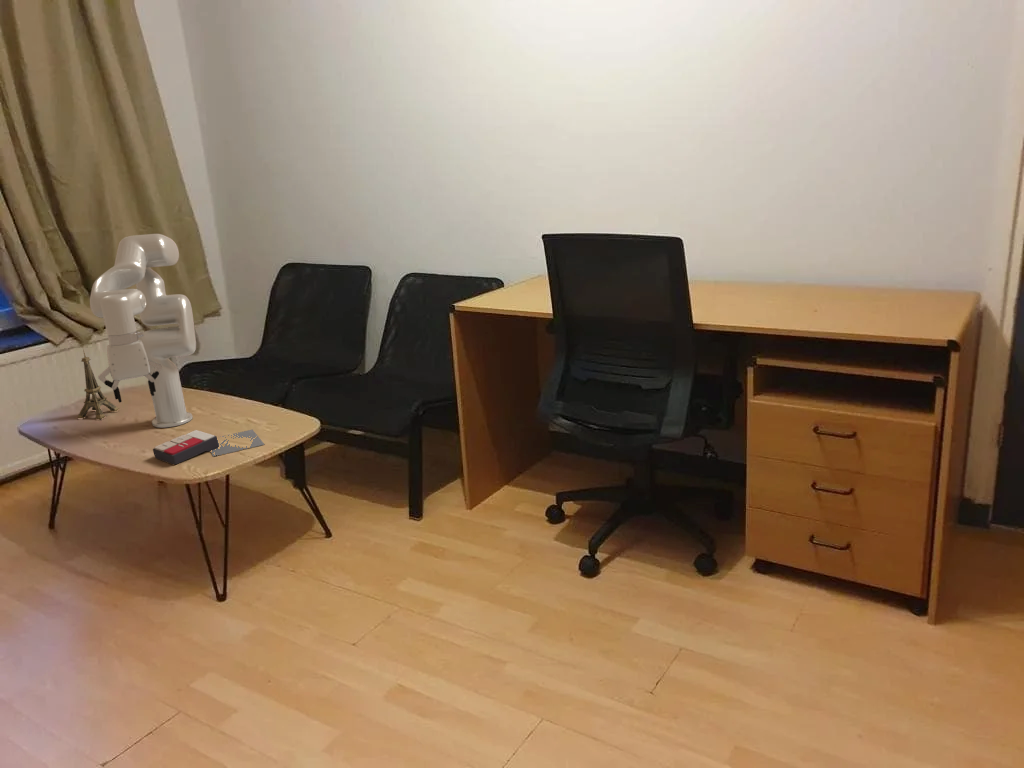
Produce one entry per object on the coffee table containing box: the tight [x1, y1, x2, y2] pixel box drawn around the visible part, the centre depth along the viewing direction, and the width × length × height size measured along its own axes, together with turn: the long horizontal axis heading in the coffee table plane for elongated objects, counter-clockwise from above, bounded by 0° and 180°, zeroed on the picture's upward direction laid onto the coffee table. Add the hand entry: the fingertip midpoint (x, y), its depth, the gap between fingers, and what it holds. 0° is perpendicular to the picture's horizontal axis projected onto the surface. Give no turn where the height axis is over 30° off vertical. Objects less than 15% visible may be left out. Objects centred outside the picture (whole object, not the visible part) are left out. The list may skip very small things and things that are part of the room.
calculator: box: [152, 429, 219, 466], centre depth 240 cm, size 11×4×15 cm
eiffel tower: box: [76, 346, 119, 420], centre depth 278 cm, size 11×11×25 cm
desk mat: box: [210, 429, 265, 458], centre depth 246 cm, size 16×15×1 cm
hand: (136, 397), depth 230 cm, fingers open, 8 cm apart
